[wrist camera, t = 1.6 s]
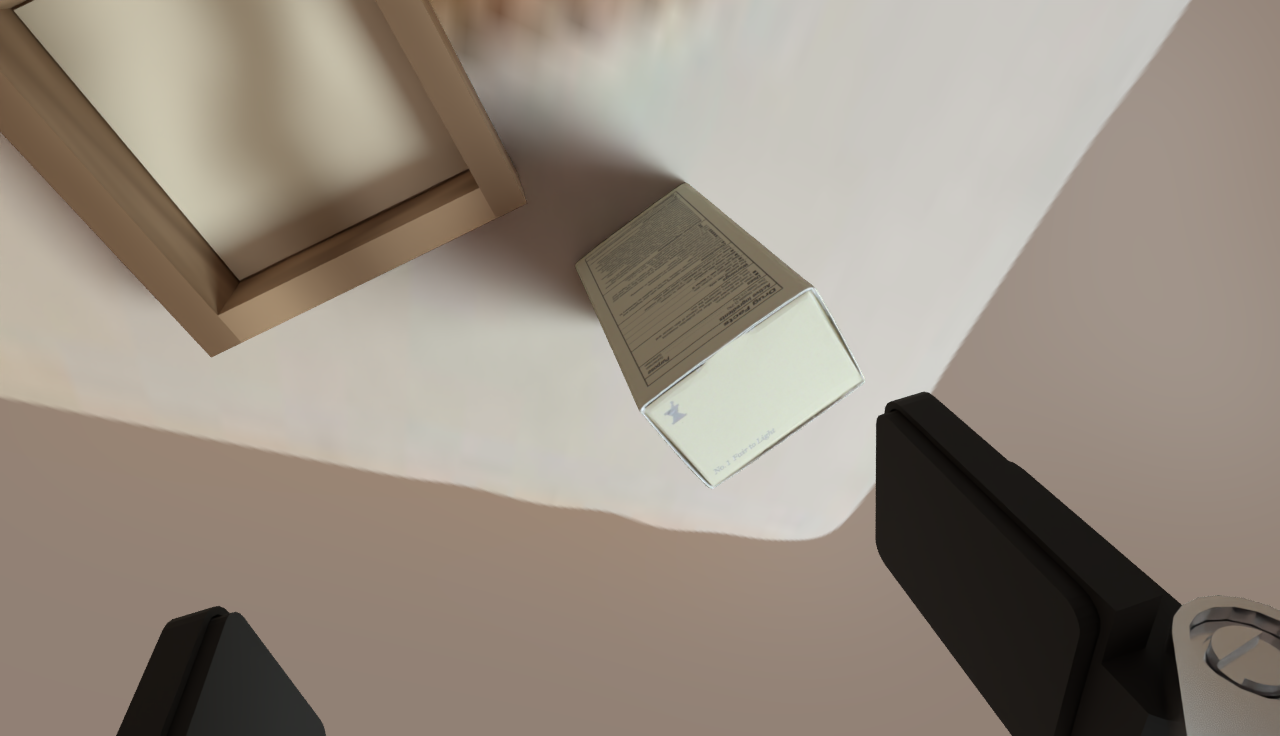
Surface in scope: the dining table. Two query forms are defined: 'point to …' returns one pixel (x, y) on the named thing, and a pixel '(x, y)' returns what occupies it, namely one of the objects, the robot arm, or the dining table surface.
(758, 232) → the dining table surface
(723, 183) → the dining table surface
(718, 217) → the skincare box
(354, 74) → the brown wooden square tray
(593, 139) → the dining table surface
